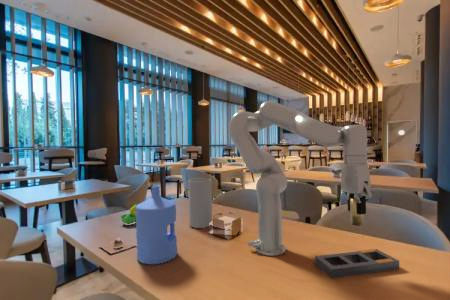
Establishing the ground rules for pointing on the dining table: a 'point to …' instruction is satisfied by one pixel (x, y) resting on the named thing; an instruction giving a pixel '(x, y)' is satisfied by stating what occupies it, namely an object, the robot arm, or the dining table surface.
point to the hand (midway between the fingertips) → (356, 211)
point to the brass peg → (355, 213)
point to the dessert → (117, 243)
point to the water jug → (156, 229)
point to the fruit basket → (130, 216)
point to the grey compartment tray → (351, 268)
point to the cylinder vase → (200, 202)
